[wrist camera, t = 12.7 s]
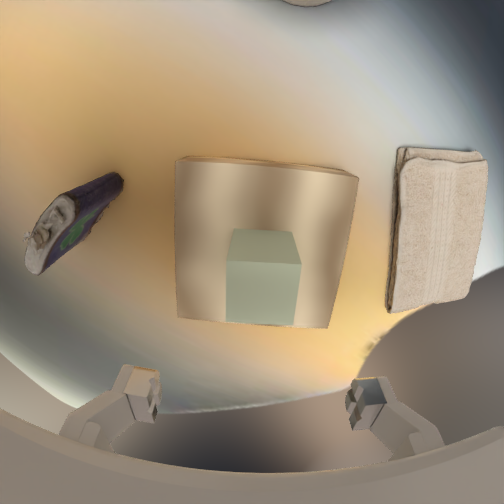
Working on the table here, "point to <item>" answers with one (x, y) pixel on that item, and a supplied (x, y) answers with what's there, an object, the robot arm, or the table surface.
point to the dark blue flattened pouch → (69, 221)
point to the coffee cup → (306, 2)
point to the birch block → (259, 228)
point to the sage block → (262, 277)
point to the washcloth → (434, 226)
